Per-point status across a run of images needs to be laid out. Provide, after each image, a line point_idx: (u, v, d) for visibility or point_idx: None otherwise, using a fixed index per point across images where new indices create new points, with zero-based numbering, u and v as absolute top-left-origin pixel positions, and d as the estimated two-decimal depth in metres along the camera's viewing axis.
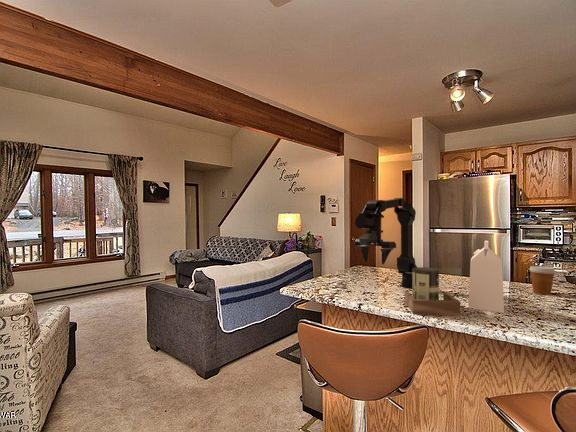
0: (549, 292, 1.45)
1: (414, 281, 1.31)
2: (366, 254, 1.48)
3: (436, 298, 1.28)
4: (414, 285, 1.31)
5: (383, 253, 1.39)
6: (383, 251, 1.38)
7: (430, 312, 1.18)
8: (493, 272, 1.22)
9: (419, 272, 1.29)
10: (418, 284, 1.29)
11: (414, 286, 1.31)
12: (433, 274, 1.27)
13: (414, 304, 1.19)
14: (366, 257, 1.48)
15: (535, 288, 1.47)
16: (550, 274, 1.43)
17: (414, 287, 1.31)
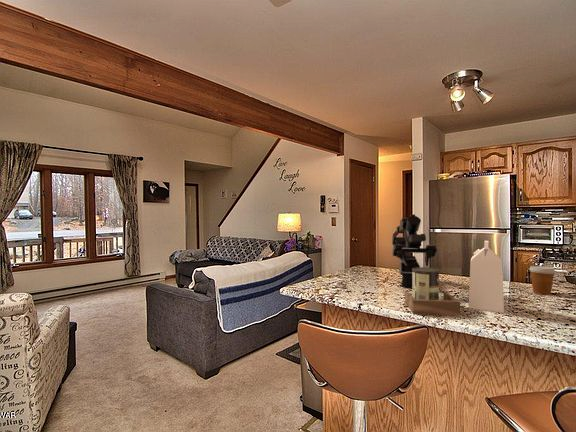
0: (549, 292, 1.45)
1: (414, 281, 1.31)
2: None
3: (436, 298, 1.28)
4: (414, 285, 1.31)
5: (428, 255, 1.46)
6: (429, 252, 1.46)
7: (430, 312, 1.18)
8: (493, 272, 1.22)
9: (419, 272, 1.29)
10: (418, 284, 1.29)
11: (414, 286, 1.31)
12: (433, 274, 1.27)
13: (414, 304, 1.19)
14: None
15: (535, 288, 1.47)
16: (550, 274, 1.43)
17: (414, 287, 1.31)
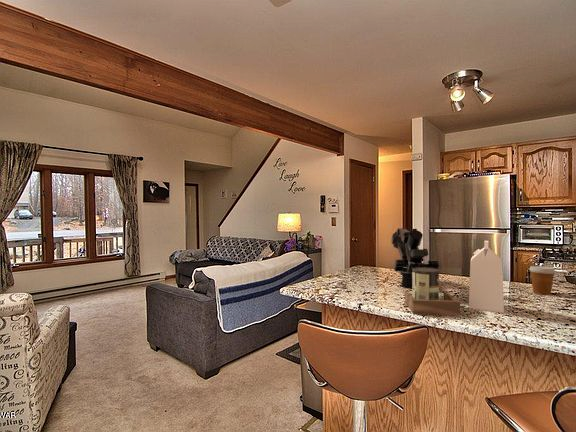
0: (549, 292, 1.45)
1: (414, 281, 1.31)
2: None
3: (436, 298, 1.28)
4: (414, 285, 1.31)
5: None
6: None
7: (430, 312, 1.18)
8: (493, 272, 1.22)
9: (419, 272, 1.29)
10: (418, 284, 1.29)
11: (414, 286, 1.31)
12: (433, 274, 1.27)
13: (414, 304, 1.19)
14: None
15: (535, 288, 1.47)
16: (550, 274, 1.43)
17: (414, 287, 1.31)
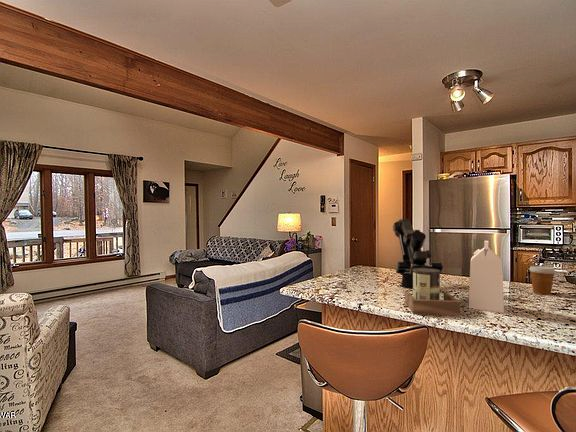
0: (549, 292, 1.45)
1: (415, 281, 1.30)
2: None
3: (437, 299, 1.27)
4: (415, 285, 1.30)
5: None
6: None
7: (430, 312, 1.18)
8: (493, 272, 1.22)
9: (420, 272, 1.28)
10: (419, 284, 1.28)
11: (415, 286, 1.30)
12: (434, 274, 1.26)
13: (414, 304, 1.19)
14: None
15: (535, 288, 1.47)
16: (550, 274, 1.43)
17: (415, 288, 1.30)
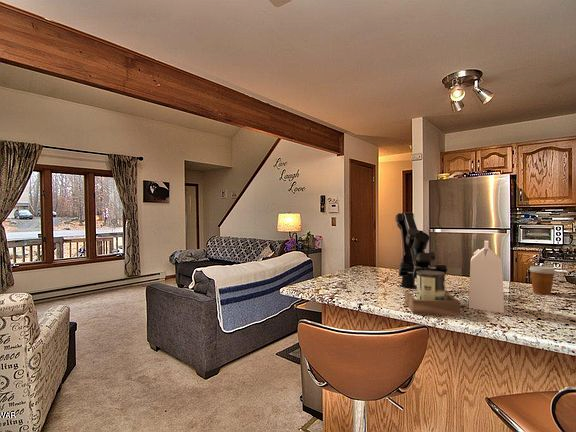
0: (549, 292, 1.45)
1: (419, 285, 1.25)
2: None
3: None
4: (419, 289, 1.25)
5: None
6: None
7: (430, 312, 1.18)
8: (493, 272, 1.22)
9: (424, 275, 1.22)
10: (423, 288, 1.23)
11: (419, 290, 1.25)
12: (439, 277, 1.21)
13: (414, 304, 1.19)
14: None
15: (535, 288, 1.47)
16: (550, 274, 1.43)
17: (419, 291, 1.25)
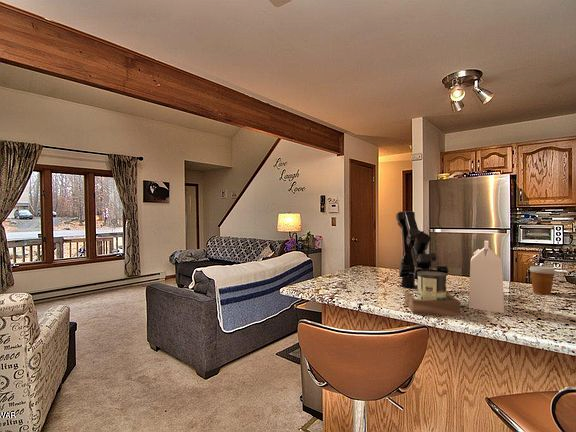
0: (549, 292, 1.45)
1: (420, 285, 1.23)
2: None
3: None
4: (420, 290, 1.23)
5: None
6: None
7: (430, 312, 1.18)
8: (493, 272, 1.22)
9: (426, 276, 1.21)
10: (425, 289, 1.21)
11: (420, 291, 1.23)
12: (441, 278, 1.20)
13: (414, 304, 1.19)
14: None
15: (535, 288, 1.47)
16: (550, 274, 1.43)
17: (420, 292, 1.23)
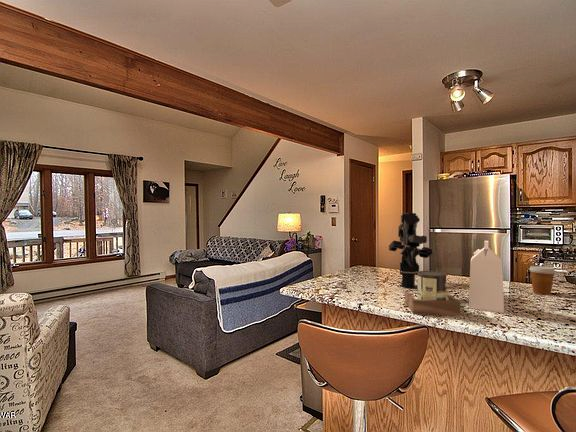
0: (549, 292, 1.45)
1: (420, 285, 1.23)
2: None
3: None
4: (420, 290, 1.23)
5: (415, 255, 1.46)
6: (416, 253, 1.46)
7: (430, 312, 1.18)
8: (493, 272, 1.22)
9: (426, 276, 1.21)
10: (425, 289, 1.21)
11: (420, 291, 1.23)
12: (441, 278, 1.20)
13: (414, 304, 1.19)
14: None
15: (535, 288, 1.47)
16: (550, 274, 1.43)
17: (420, 292, 1.23)
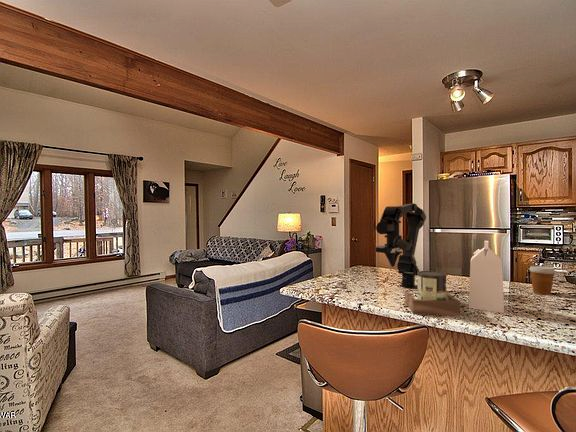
0: (549, 292, 1.45)
1: (420, 285, 1.23)
2: None
3: None
4: (420, 290, 1.23)
5: (397, 256, 1.50)
6: None
7: (430, 312, 1.18)
8: (493, 272, 1.22)
9: (426, 276, 1.21)
10: (425, 289, 1.21)
11: (420, 291, 1.23)
12: (441, 278, 1.20)
13: (414, 304, 1.19)
14: None
15: (535, 288, 1.47)
16: (550, 274, 1.43)
17: (420, 292, 1.23)
